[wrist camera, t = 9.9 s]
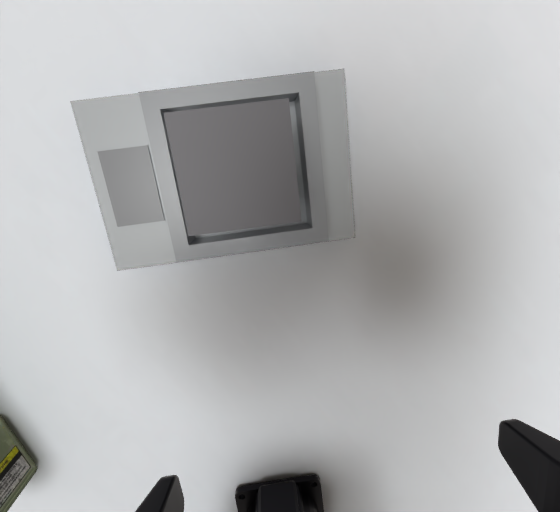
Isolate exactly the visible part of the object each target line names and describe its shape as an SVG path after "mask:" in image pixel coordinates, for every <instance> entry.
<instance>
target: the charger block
mask: <svg viewBox="0 0 560 512" xmlns="http://www.w3.org/2000/svg"><path fill="white" fill-rule="evenodd" d="M164 118H165V123H166V128H167V133H168V138H169V143H170V148H171V153H172V158H173V163H174V168H175V172H176V177H177V182H178V187H179V192H180V197H181V202H182V207H183V212H184V217H185V222H186V227H187V232H188V236H195V235H203V234H210V233H218V232H226V231H233V230H241V229H248V228H256V227H263V226H271V225H278V224H286V223H293V222H301V221H302V220H301V210H300V201H299V191H298V182H297V172H296V163H295V153H294V143H293V134H292V124H291V115H290V105H289V98H286V99H277V100H269V101H260V102H252V103H243V104H234V105H226V106H217V107H209V108H200V109H192V110H183V111H175V112H166V113H164Z"/></svg>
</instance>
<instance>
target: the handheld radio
mask: <svg viewBox="0 0 560 512" xmlns="http://www.w3.org/2000/svg"><path fill="white" fill-rule="evenodd" d="M36 470H37V466H36V464H35V463H34V461H33V460H32V459H31V457H30V456H29V454H28V453H27V452H26V450H25V449H24V447H23V446H22V445H21V443H20V442H19V440H18V439H17V438H16V436H15V435H14V433H13V432H12V431H11V429H10V428H9V426H8V425H7V424H6V422H5V421H4V419H3V418H2V417H1V415H0V512H7V511H8V510H9V508H10V507H11V506H12V504H13V503H14V502H15V500H16V499H17V497H18V496H19V495H20V493H21V492H22V490H23V489H24V488H25V486H26V485H27V483H28V482H29V481H30V479H31V478H32V476H33V475H34V474H35V472H36Z"/></svg>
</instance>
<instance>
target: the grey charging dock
mask: <svg viewBox="0 0 560 512" xmlns="http://www.w3.org/2000/svg"><path fill="white" fill-rule="evenodd" d="M286 98H289V105H290V115H291V124H292V134H293V143H294V153H295V163H296V172H297V182H298V191H299V201H300V210H301V220H302V221H301V222H293V223H286V224H278V225H271V226H263V227H256V228H248V229H241V230H233V231H226V232H218V233H210V234H203V235H195V236H188V232H187V227H186V222H185V217H184V212H183V207H182V202H181V197H180V192H179V187H178V182H177V177H176V172H175V168H174V163H173V158H172V153H171V148H170V143H169V138H168V133H167V128H166V123H165V118H164V113H166V112H175V111H183V110H192V109H200V108H209V107H217V106H226V105H234V104H243V103H252V102H260V101H269V100H277V99H286ZM70 102H71V105H72V109H73V113H74V116H75V120H76V123H77V127H78V131H79V134H80V138H81V142H82V145H83V149H84V152H85V156H86V160H87V163H88V167H89V170H90V174H91V178H92V181H93V185H94V188H95V192H96V196H97V199H98V203H99V207H100V210H101V214H102V217H103V221H104V225H105V228H106V232H107V235H108V239H109V243H110V246H111V250H112V253H113V257H114V261H115V264H116V268H117V271H120V270H127V269H134V268H141V267H148V266H156V265H163V264H170V263H177V262H184V261H191V260H198V259H206V258H213V257H220V256H227V255H234V254H241V253H248V252H256V251H263V250H270V249H277V248H284V247H291V246H298V245H306V244H313V243H320V242H327V241H334V240H341V239H348V238H355V229H354V213H353V198H352V182H351V167H350V151H349V135H348V120H347V104H346V89H345V73H344V69H338V70H329V71H321V72H314V71H313V72H305V73H297V74H288V75H280V76H271V77H263V78H255V79H246V80H238V81H229V82H221V83H213V84H204V85H196V86H187V87H179V88H171V89H162V90H154V91H145V92H138V93H136V94H128V95H119V96H111V97H103V98H94V99H86V100H77V101H70Z"/></svg>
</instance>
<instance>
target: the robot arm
mask: <svg viewBox="0 0 560 512" xmlns="http://www.w3.org/2000/svg"><path fill="white" fill-rule="evenodd" d="M498 446H499V450H500V452H501V454H502V456H503V457H504V459H505V460H506V462H507V464H508V465H509V467H510V468H511V470H512V471H513V473H514V474H515V476H516V478H517V479H518V481H519V482H520V484H521V485H522V487H523V489H524V490H525V492H526V493H527V495H528V496H529V498H530V499H531V501H532V503H533V504H534V506H535V507H536V509H537V510H538V512H560V441H559V440H557V439H555V438H553V437H551V436H549V435H547V434H545V433H543V432H541V431H539V430H537V429H535V428H533V427H531V426H529V425H527V424H525V423H523V422H521V421H519V420H517V419H511V420H505V421H501V423H500V425H499V437H498ZM235 499H236V504H237V508H238V512H324V509H323V501H322V493H321V484H320V479H319V477H318V476H317V475H308V476H302V477H296V478H290V479H284V480H278V481H272V482H266V483H260V484H254V485H248V486H242V487H239V488H237V489H236V494H235ZM135 512H184V496H183V493H182V489H181V485H180V482H179V478H178V476H177V475H171V476H165V477H162V478H161V479H160V480H159V481H158V482H157V483H156V485H155V486H154V487H153V489H152V490H151V491H150V493H149V494H148V495H147V497H146V498H145V499H144V501H143V502H142V503H141V505H140V506H139V507H138V509H137V510H136V511H135Z"/></svg>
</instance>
